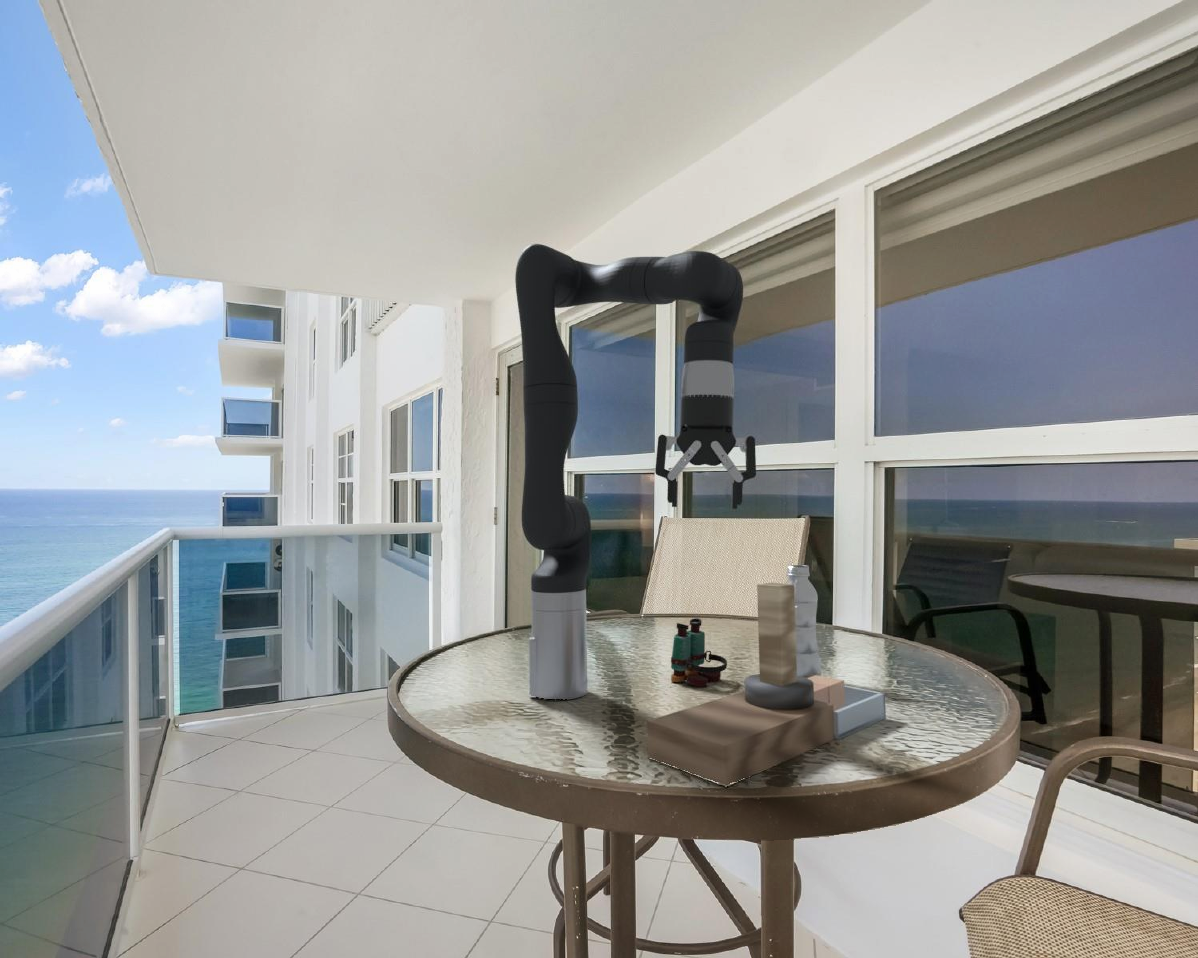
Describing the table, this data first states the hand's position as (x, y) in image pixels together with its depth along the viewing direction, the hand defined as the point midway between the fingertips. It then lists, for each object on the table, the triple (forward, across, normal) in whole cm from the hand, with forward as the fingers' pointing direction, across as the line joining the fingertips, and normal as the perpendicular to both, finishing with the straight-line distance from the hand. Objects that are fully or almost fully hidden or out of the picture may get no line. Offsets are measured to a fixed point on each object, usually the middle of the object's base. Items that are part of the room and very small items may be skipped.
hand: (703, 507), depth 96 cm
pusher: (+25, -11, +5) cm, 28 cm away
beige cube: (+27, -17, -2) cm, 32 cm away
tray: (+30, -18, -2) cm, 35 cm away
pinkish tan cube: (+29, -15, 0) cm, 33 cm away
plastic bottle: (+31, -18, -25) cm, 44 cm away
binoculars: (+32, -1, -22) cm, 39 cm away
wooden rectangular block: (+30, -6, +11) cm, 32 cm away
